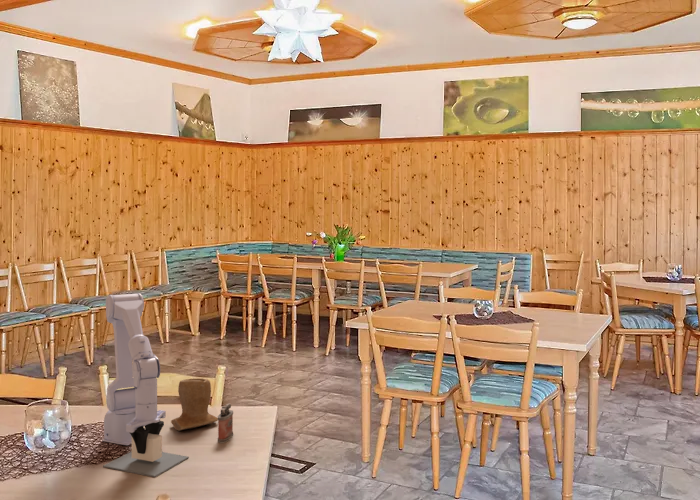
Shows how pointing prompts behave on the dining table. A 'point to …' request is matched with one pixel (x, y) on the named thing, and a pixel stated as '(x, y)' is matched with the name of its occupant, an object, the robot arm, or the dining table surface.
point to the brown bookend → (194, 404)
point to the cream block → (149, 448)
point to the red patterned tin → (225, 424)
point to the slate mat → (146, 464)
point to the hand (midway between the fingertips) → (146, 450)
